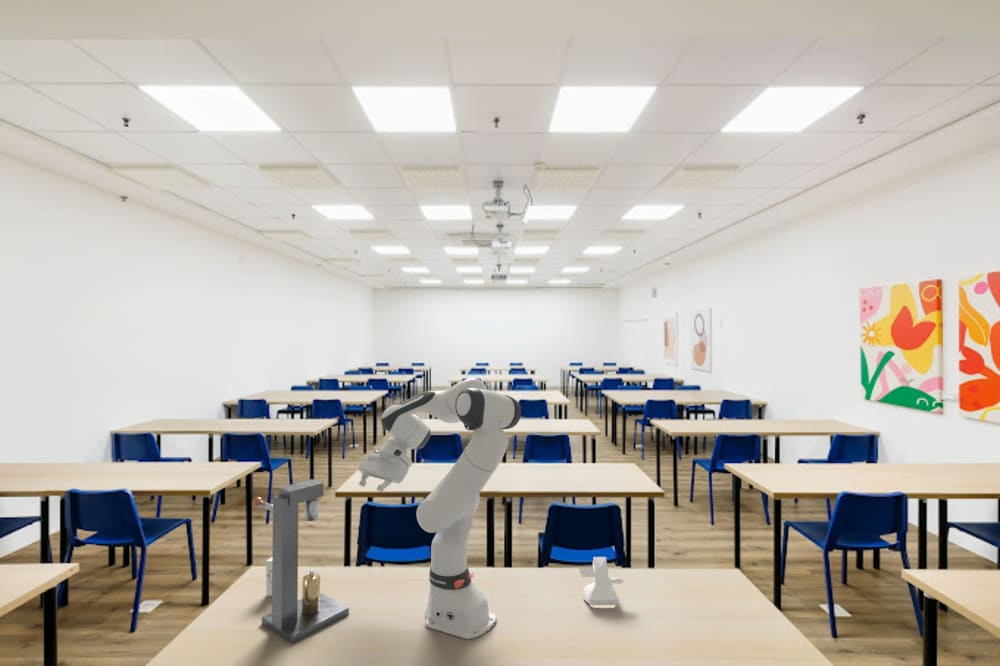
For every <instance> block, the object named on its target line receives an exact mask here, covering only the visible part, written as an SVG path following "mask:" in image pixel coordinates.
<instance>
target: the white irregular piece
mask: <svg viewBox="0 0 1000 666" xmlns="http://www.w3.org/2000/svg"><path fill="white" fill-rule="evenodd" d="M592 558H593V560H592V567H579V568H578V570H579V572H580V575H581V577H582V578H593V582H592V583H589V584H587V585H585V586H584V588H583V593H582V595H583V594H584V597H585V600H586V601H588V602H589V603H590V604H591V605H616V606H617V605H618V604H619V601H620V598H619V596H618V595H617V592H616V590H615V588H614V586H613V584H616V585H622V584H623V583H625V582H624V581H625V580H624V579H623V578H621V577H613V578H611V576H610V575H609V570H608V569H609V568H608V562H607V561H608V560H607V557H606V556H593V557H592Z"/></svg>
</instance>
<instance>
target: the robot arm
mask: <svg viewBox="0 0 1000 666" xmlns="http://www.w3.org/2000/svg"><path fill="white" fill-rule="evenodd" d="M418 412H419V413H420V412H422V413H425V414H428V415H431V416H432V417H434V418H437V419H438V420H440V421H442V422H444V423H446V424H447V423H449V424H455V423H459V422H460V423H461V422H462V424H463V426H464V428H465V429H466V431H473V433H472V437H471V439H470V441H469V442H468V444H467V445H466V446H465V448H464V450H463V452H462V453H461V454H460V456H459V457H458V458H457V461H456V462H455V464H454V465H453V467H452V468H451V469H450V470H449V471H448V472H447V474H446V475H445V476H444V477H443V478H442V479H441V480H440V481H439V482H438V484H437V485H436V486H435V487H434V489H433V490H432V491H431V492H430V493H429V494H428V496H426V497H425V498H424V499H423V500H422V501H421V502H420V503H419V504H418V507H417V508H416V520H417V522H418V524H419V526H420V527H421V529H422V530H424V531H425V532H426V533H434V534H435V535H434V537H433V539H432V541H431V546H430V549H431V550H430V551H431V552H430V555H431V556H430V560H431V561H430V567H429V574H428V577H429V579H428V580H429V582H430V587H429V593H428V594H429V595H428V602H427V606H426V609H425V611H424V617H425V627H426V628H429V629H432V630H435V631H437V632H441V631H442V633H446V634H449V635H451V634H452V636H456V637H458V638H461V637H462V639H465V640H471V638H472V639H475V638H478V637H480V636H482V635H484V634H485V633H486V631H487V632H488V631H490V630H491V629H492V628H493V627H494V626H495V624H496V623H495V622H497V615H496V614H494V613H492V611H489V603H488V602H489V601H488V600H487V598H486V597H485V596H484V594H483V592H482V591H481V590H479V588H478V587H477V586H476V585H475V583H473V581H472V578H474V577H475V576H474V574H475V573H474V572H472V573H471V574H470V570H469V567H468V562H467V561H468V542H469V537H470V531H471V528H472V523H473V520H474V519H473V518H474V516H475V513H476V510H477V509H478V506H479V504H480V501H481V495H480V492H481V491H482V490H483V489H484V487H486V484H487V483H488V481H489V480H490V479H491V477H492V476H493V474H494V473H495V472H496V469H498V466H499V465H500V463H501V461H502V460H503V458H504V456H505V453H506V452H507V449H508V447H509V437H508V434H507V433H506V432H505V431H504V430H510V429H512V428H514V427H515V426H517V424H518V423H519V422H520V419H521V415H522V409H521V405H520V403H519V402H518V400H516V399H515V398H513V397H512V396H509V395H508V394H501V393H498V392H496V391H493V390H489V389H488V387H487V386H486V384H485V383H484V382H483V381H482V380H481V379H480V378H476V377H469V378H466V379H464V380H461V381H459V382H457V383H456V384H454V385H452V386H450V387H449V388H448V389H445V390H430V389H429V390H426V391H423V392H421V393H419V394H416V395H414V396H412V397H410V398H408V399H405V400H403V401H401V402H397V403H393V404H390V406H388V407H387V408H386V409H385V410H384V411H383V413H382V414H381V415H380V422H381V423H380V425H381V427H382V429H384V430H385V431H387V432H388V433H391V435H390V436H389V437H388V439H386V441H385V442H384V444H383V445H382V446H381V448H380V449H379V451H378V450H374V451H372V452H370V453H368V454H367V455H366V456H365V457H364V459H363V460H362V461H361V462H360V464H359V465H358V469H357V470H358V471H359V473H361V479H360V481H359V482H358V485H359V486H360V487H363V488H364V487H365V486H366V485H367V482H366V481H367V479H369V478H370V477H371V478H376V479H378V480H383V483H381V484H378V485H377V487H376V490H377V491H378V492H380V493H383V492H384V491H385V489H386V488H388V487H389V486H390V485H391V484H392V483H394V484H397V485H398V484H400V483H403V480H404V479H405V477H406V475H407V474H408V472H409V469H410V467H412V466H413V461H412V459H411V458H410V457H409V456H408V455H407V454H408V451H409V450H410V449H411V450H420V449H423V448H424V447H425V446H426V445H427V443H428V442H429V440H430V438H431V429H430V427H429V425H428V424H426V423H425V422H423V419H422V418H421V417H420V416H418V415H416V414H415V413H418ZM494 623H495V624H494ZM492 626H493V627H492ZM491 627H492V628H491Z"/></svg>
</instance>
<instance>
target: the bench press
mask: <svg viewBox="0 0 1000 666" xmlns="http://www.w3.org/2000/svg"><path fill="white" fill-rule="evenodd" d="M321 497H324V482H322V481H318V480H315V479H312V478H311V479H308V480H303V481H300V482H296V483H292V484H288V485H284V486H280V487H278V495H273V496H272V504H271V503H268V502H266V501H264V499H263V498H262V497H260V496H257V497H254V498H253V499H252V503H251V504H252V506H253V507H255V508H260V507H262V508H264V509H266V510H268V511H271V512H272V556H271V557H272V596H271V598H272V599H271V612H270V613H268V614H266V615H263V616H261V625H263V626H264V625H265V626H264V627H266V628H267V627H268V628H267V629H268V630H270V629H271V631H272V632H274V633H275V634H276V635H278V636H279V637H281V638H283V639H284V640H286V642H289V644H292V645H293V644H295V643H296V642H299V641H300V640H302V639H304V638H306V637H308V636H310V635H311V634H314V633H316V632H317V631H320V630H322V629H323V628H325V627H327V626H329V625H331V624H333V623H335V622H337V621H339V620H341V619H342V618H344V617H346V616H348V615H349V614H350V608H349V607H348V606H346V605H344V604H343V603H341V602H339V601H337V600H335V599H334V598H331V597H329V596H327V595H325V594H324V593H322V592H320V607H319V611H318V612H316V613H314V614H310V615H306V614H303V613H302V598H301V599H299V598H298V595H299V593H298V591H299V589H298V584H299V577H298V575H299V573H298V571H299V504H301V503H303V502H304V511H303V512H304V521H306V522H313V521H317V520H319V508H320V507H319V504H320V503H319V500H320V499H319V498H321ZM298 599H299V600H298Z"/></svg>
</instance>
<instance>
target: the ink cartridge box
mask: <svg viewBox="0 0 1000 666" xmlns="http://www.w3.org/2000/svg"><path fill="white" fill-rule="evenodd" d="M265 565H266V567H265V569H266V571H265V573H266V574H265V575H266V577H265V578H266V579H265V580H266V597H272V556H271V557H270V558H268V559H267V560H266V563H265Z"/></svg>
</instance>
